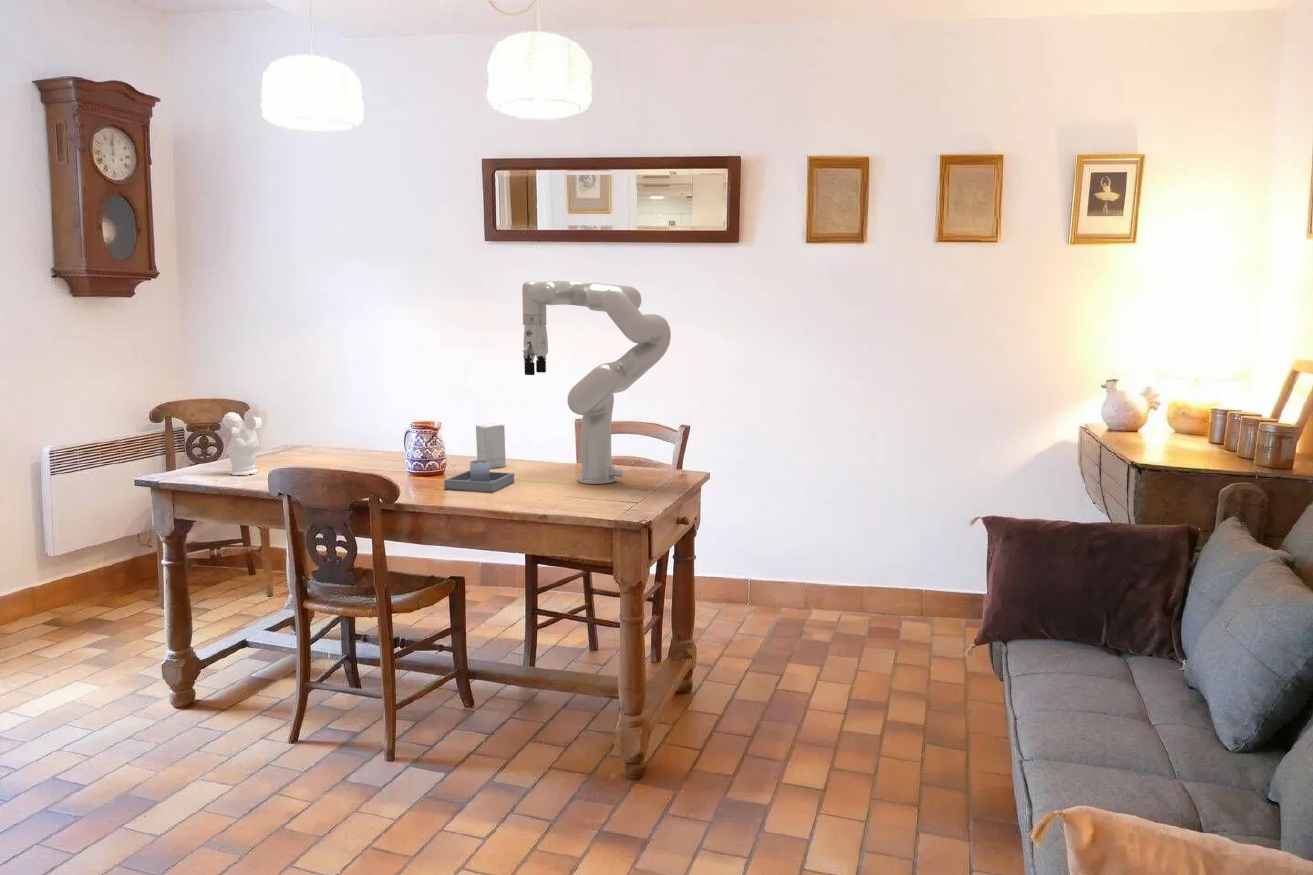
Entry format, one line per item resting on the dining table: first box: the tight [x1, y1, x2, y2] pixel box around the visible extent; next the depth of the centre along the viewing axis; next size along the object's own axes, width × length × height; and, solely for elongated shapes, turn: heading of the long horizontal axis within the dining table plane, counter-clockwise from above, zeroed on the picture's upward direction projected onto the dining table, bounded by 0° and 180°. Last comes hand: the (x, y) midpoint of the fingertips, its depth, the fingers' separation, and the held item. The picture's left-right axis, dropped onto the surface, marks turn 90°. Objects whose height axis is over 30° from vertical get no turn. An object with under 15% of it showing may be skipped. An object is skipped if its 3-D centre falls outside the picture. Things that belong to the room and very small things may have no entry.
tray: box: [443, 470, 515, 494], centre depth 301 cm, size 16×16×3 cm
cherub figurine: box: [222, 408, 263, 476], centre depth 319 cm, size 12×12×22 cm
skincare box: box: [475, 422, 507, 469], centre depth 331 cm, size 8×6×15 cm
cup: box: [469, 459, 491, 482], centre depth 301 cm, size 6×6×7 cm
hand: (535, 373), depth 314 cm, fingers open, 9 cm apart
